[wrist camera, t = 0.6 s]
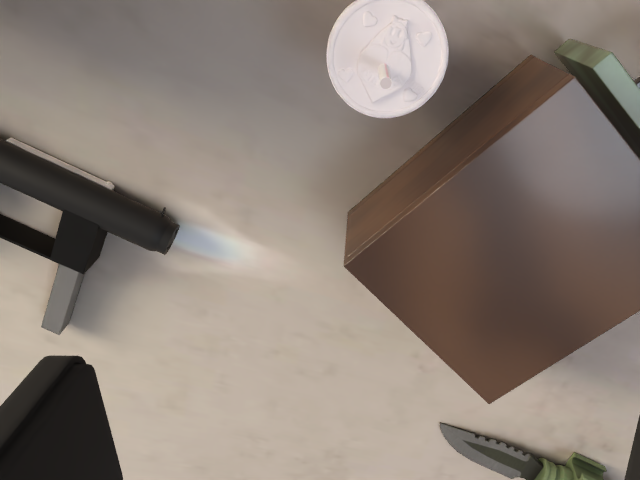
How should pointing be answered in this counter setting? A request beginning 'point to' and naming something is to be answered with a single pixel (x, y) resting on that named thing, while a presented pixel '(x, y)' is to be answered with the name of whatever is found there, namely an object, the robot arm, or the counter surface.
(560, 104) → the cabinet
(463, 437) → the knife
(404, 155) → the counter surface
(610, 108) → the drawer
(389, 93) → the smoothie
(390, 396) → the counter surface
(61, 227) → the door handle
